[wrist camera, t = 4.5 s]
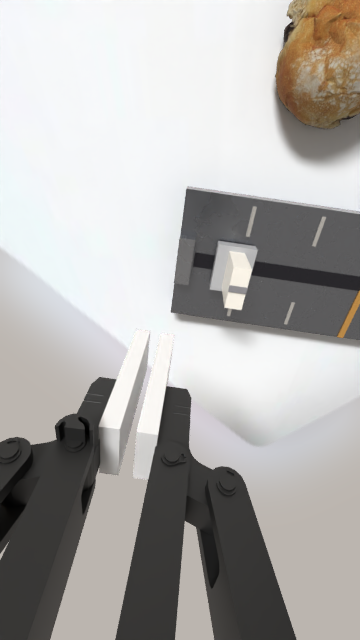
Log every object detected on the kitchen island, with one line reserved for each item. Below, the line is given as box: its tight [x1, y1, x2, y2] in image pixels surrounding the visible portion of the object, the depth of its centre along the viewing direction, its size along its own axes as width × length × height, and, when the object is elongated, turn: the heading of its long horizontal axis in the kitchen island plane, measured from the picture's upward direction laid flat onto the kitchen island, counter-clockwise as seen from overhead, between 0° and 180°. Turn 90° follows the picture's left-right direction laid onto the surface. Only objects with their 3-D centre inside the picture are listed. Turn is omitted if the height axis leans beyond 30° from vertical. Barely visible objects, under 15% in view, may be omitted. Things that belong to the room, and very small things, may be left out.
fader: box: [210, 241, 258, 310], centre depth 29 cm, size 4×5×7 cm
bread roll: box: [275, 0, 360, 129], centre depth 23 cm, size 10×10×8 cm
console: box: [171, 187, 360, 340], centre depth 32 cm, size 28×14×4 cm, turn 83°
